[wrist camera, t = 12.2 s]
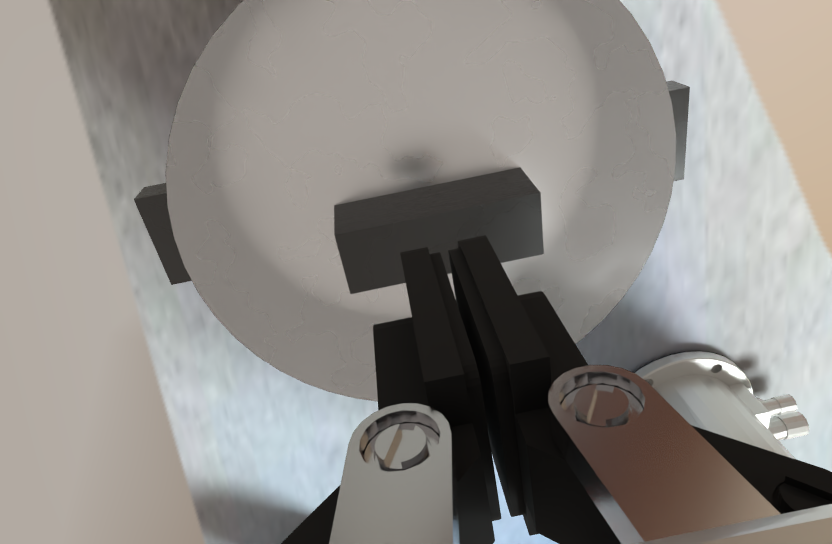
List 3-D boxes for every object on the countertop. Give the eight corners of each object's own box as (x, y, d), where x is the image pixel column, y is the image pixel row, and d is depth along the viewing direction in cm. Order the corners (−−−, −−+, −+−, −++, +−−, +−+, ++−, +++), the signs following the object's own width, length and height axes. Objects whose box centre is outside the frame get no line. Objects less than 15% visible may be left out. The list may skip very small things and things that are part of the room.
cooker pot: (583, -93, 30) (715, -121, 19) (589, 221, 39) (683, 319, 28) (146, -8, 29) (39, 11, 19) (253, 290, 38) (221, 416, 28)
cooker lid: (673, -131, 18) (749, -143, 15) (645, 335, 28) (687, 389, 25) (81, -16, 18) (24, -3, 15) (264, 416, 28) (255, 482, 25)
